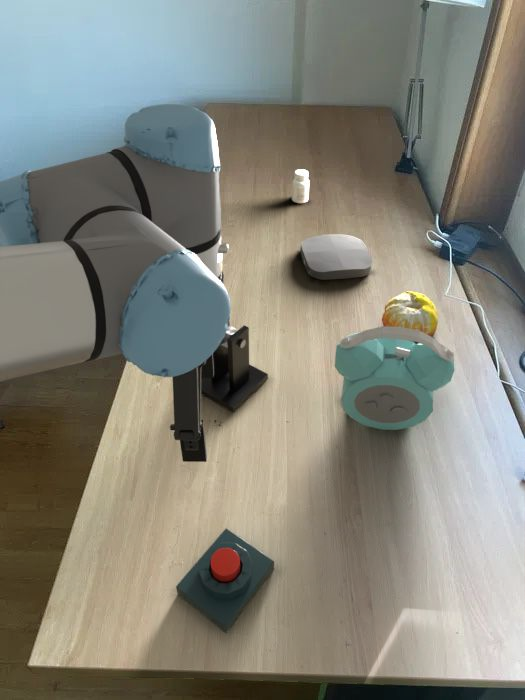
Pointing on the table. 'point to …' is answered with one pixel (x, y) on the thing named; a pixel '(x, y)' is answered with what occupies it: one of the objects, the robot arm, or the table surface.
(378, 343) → the alarm clock
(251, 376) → the bracket
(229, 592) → the button box
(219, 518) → the table surface
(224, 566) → the button
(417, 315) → the fruit
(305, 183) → the pill bottle
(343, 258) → the media streaming box
